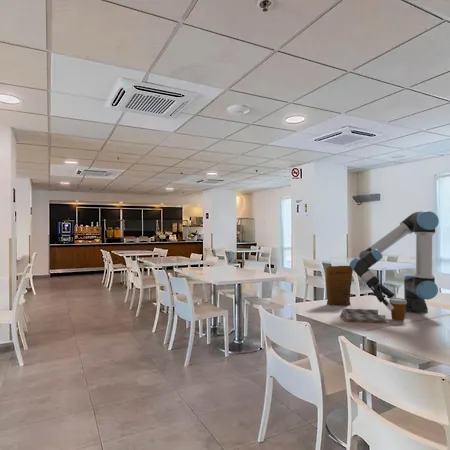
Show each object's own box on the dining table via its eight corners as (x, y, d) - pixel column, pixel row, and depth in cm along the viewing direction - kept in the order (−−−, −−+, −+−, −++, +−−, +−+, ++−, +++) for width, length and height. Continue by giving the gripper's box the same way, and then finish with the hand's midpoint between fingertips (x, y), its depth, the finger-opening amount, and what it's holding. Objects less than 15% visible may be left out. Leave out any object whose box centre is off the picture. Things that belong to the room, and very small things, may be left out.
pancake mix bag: (354, 306, 237) (354, 266, 238) (325, 305, 240) (325, 265, 241) (351, 304, 244) (351, 265, 245) (324, 303, 247) (324, 264, 247)
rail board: (378, 316, 210) (378, 309, 210) (386, 323, 193) (386, 315, 193) (340, 314, 213) (340, 307, 214) (346, 321, 197) (346, 314, 197)
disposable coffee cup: (409, 322, 196) (409, 301, 196) (391, 321, 198) (391, 300, 198) (404, 318, 205) (404, 298, 205) (387, 317, 207) (386, 297, 207)
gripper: (373, 281, 223) (398, 308, 212) (357, 285, 205) (383, 315, 194) (382, 273, 220) (407, 300, 209) (366, 277, 202) (393, 307, 191)
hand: (396, 307), depth 202 cm, fingers open, 13 cm apart
